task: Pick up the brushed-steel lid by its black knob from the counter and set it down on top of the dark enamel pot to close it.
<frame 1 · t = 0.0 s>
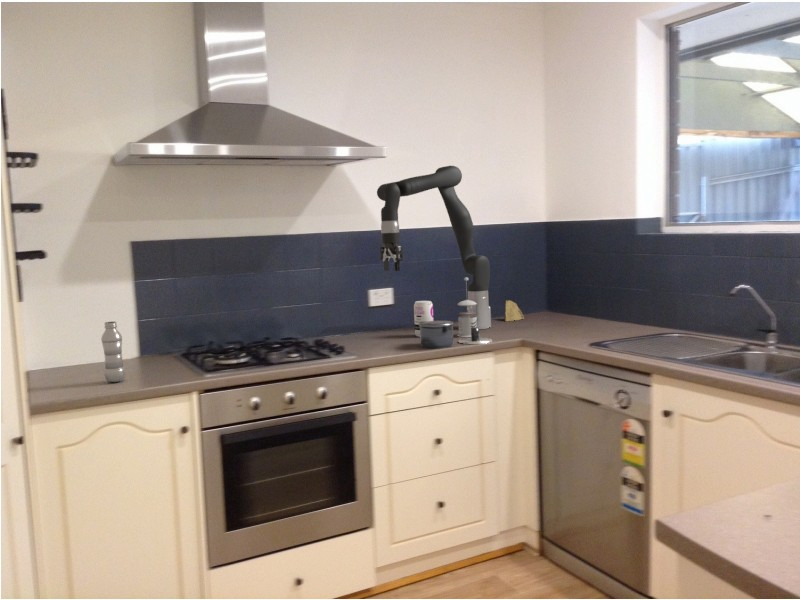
hand: (392, 270, 282), 29 cm above the countertop, tool pointing down, fingers open, 8 cm apart
pot: (437, 345, 267), on the countertop
french press: (468, 335, 289), on the countertop
supplement can: (424, 336, 292), on the countertop
plastic bottle: (115, 382, 224), on the countertop
yellow wedge: (514, 320, 329), on the countertop
lid: (475, 342, 272), on the countertop
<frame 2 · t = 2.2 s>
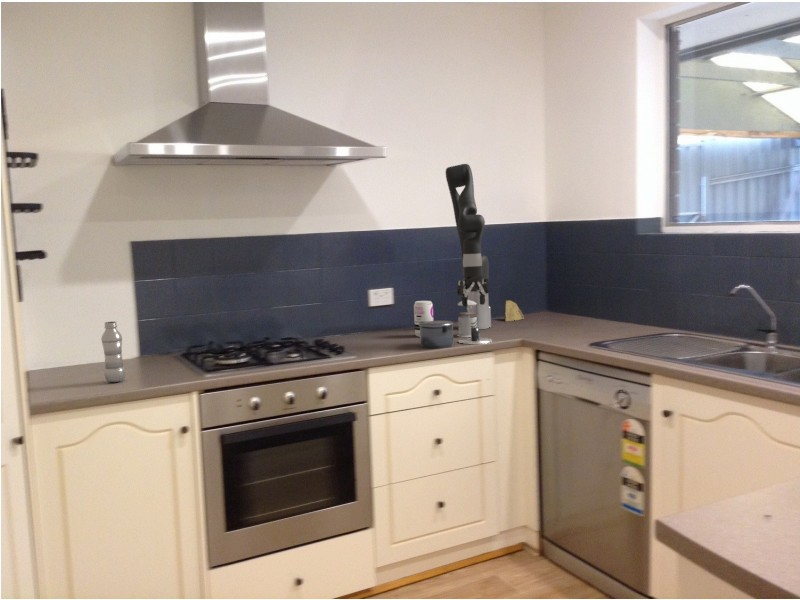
hand: (473, 305, 270), 15 cm above the countertop, tool pointing down, fingers open, 8 cm apart
nothing on the countertop moved.
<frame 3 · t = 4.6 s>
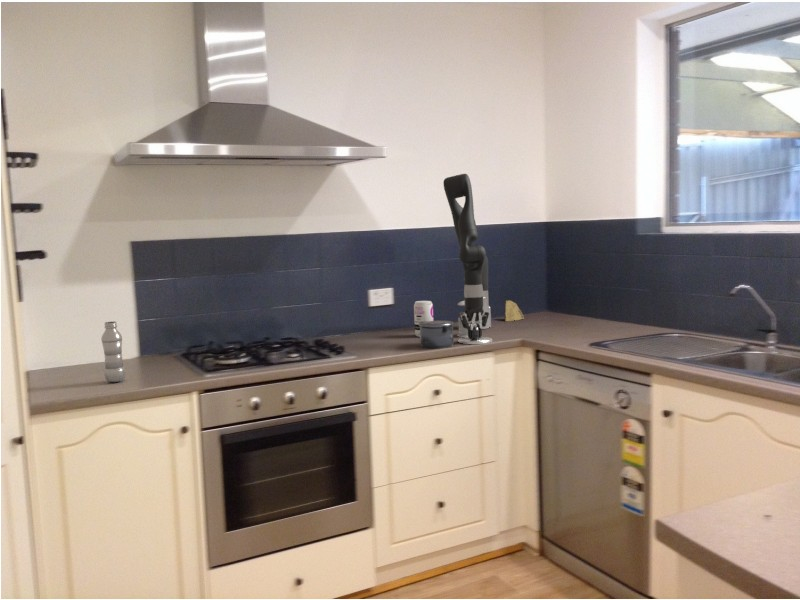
hand: (475, 338, 272), 2 cm above the countertop, tool pointing down, fingers closed on lid, 3 cm apart
lid: (475, 341, 272), on the countertop, touching gripper
everything else where it was.
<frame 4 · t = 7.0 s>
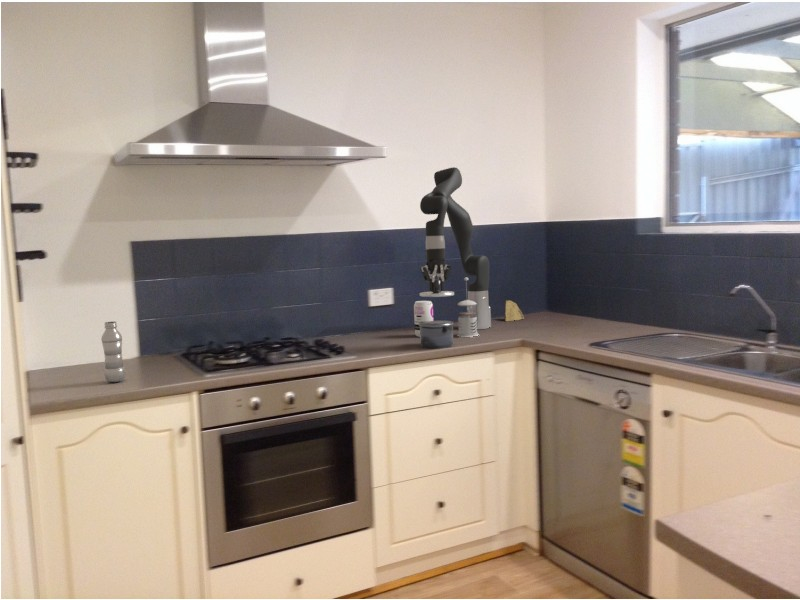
hand: (436, 291, 265), 22 cm above the countertop, tool pointing down, fingers closed on lid, 3 cm apart
lid: (437, 295, 265), point 20 cm above the countertop, touching gripper
everything else where it was.
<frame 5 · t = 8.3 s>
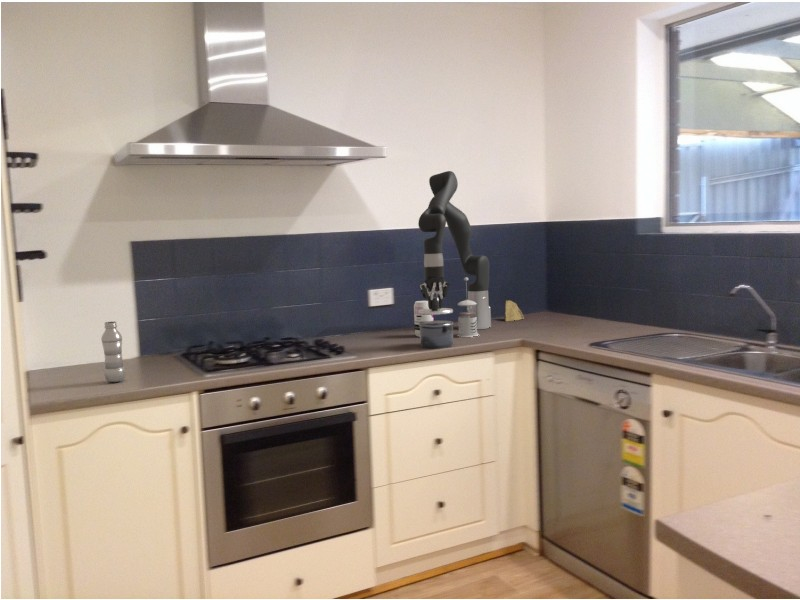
hand: (435, 308, 265), 15 cm above the countertop, tool pointing down, fingers closed on lid, 3 cm apart
lid: (435, 312, 266), point 13 cm above the countertop, touching gripper
everything else where it was.
when the fingers open (12 cm above the countertop, at t = 9.5 s): lid drops 1 cm, resting on pot.
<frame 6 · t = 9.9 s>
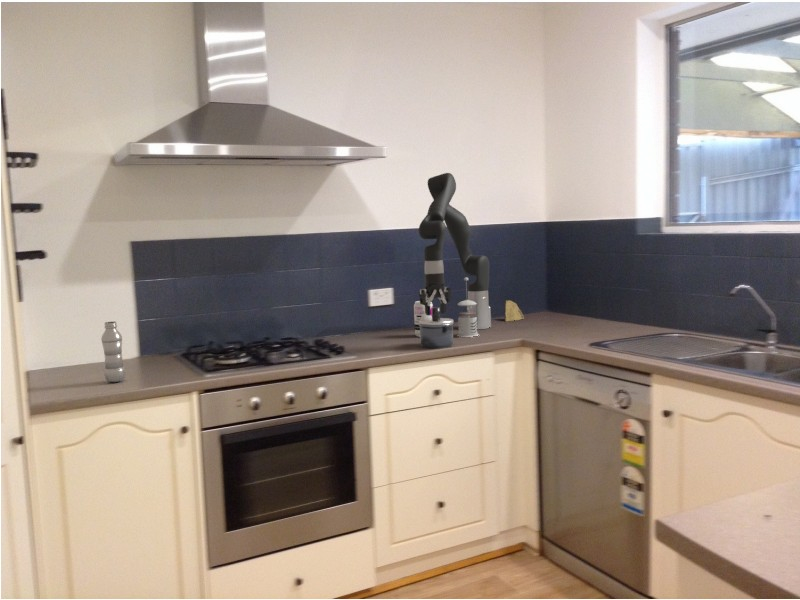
hand: (435, 314, 266), 12 cm above the countertop, tool pointing down, fingers open, 6 cm apart
lid: (436, 323, 266), point 9 cm above the countertop, touching pot
everything else where it was.
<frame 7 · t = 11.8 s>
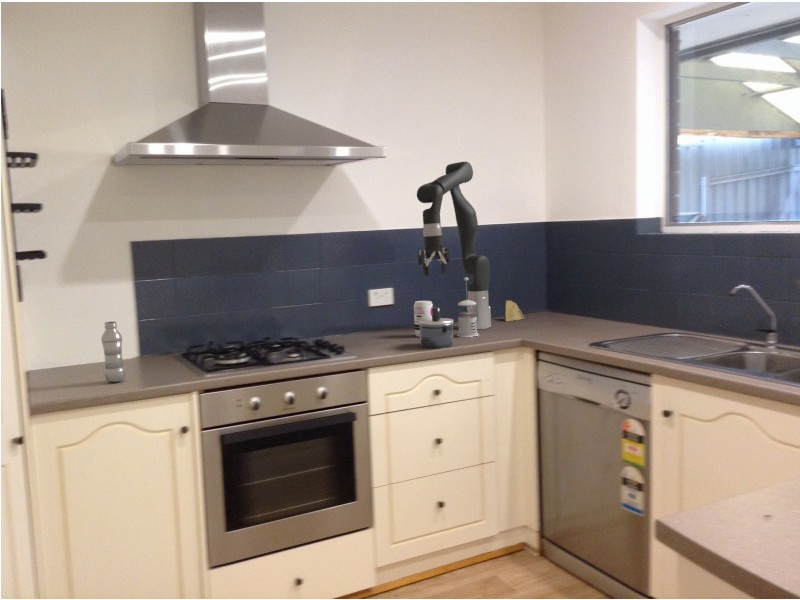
hand: (435, 274, 276), 27 cm above the countertop, tool pointing down, fingers open, 8 cm apart
nothing on the countertop moved.
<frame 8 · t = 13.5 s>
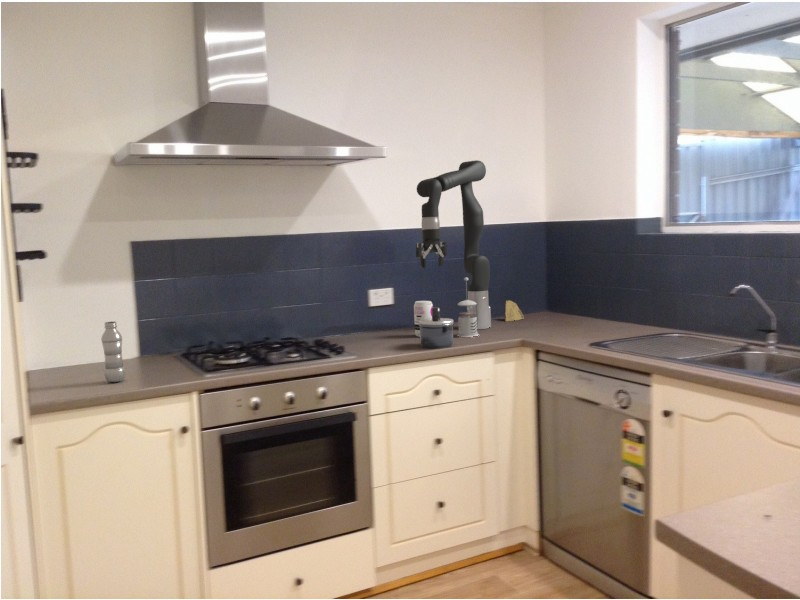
hand: (432, 267, 283), 30 cm above the countertop, tool pointing down, fingers open, 8 cm apart
nothing on the countertop moved.
at the end: lid 0.1 cm off-centre on the pot, point 9.0 cm above the pot's base; lid tilted 0°; the gripper is holding nothing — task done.
